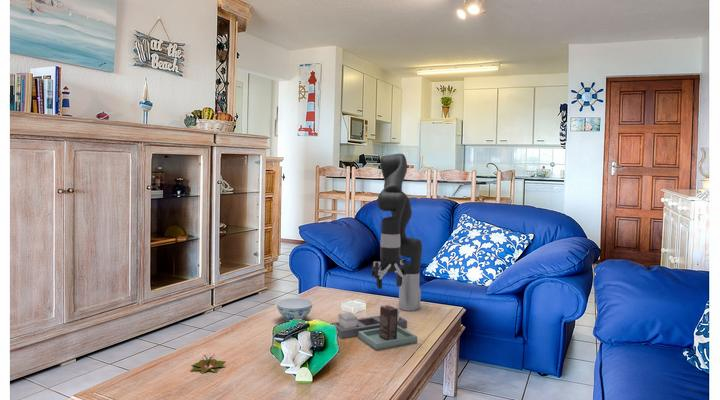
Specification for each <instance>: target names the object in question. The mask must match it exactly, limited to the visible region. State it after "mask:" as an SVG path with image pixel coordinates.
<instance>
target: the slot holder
mask: <svg viewBox="0 0 720 400" xmlns="http://www.w3.org/2000/svg"><path fill="white" fill-rule="evenodd" d="M331 324H332V325H335V326H336V327H337V331H338V336H337V337H338V338H340V339H342V340H343V339H348V338H354V337H358V332H359V331H365V330H371V329H377V328H380V315H376V316H369V317H362V318H357V327H355V328H348V329H342V328H341V327H340V326H339V321H334V322H330V325H331ZM397 325H398V326H400V327H401V328H403V329H405V328H406V329H407V328H408V320H407V319H405V318H403V317H401V316H399V321H397Z"/></svg>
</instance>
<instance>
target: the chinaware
mask: <svg viewBox="0 0 720 400" xmlns="http://www.w3.org/2000/svg"><path fill="white" fill-rule="evenodd" d="M276 305H277V306H276V307H277V310H278V313H279V314H280V316H282V318H283V319H285V320H286V322H287V321H290V320H293V319H303V320H304V319H305V318H306V317H308V315H309V314H310V312H311V311H312V308H313V305H314V303H313V301H312V300H311V299H308V298H304V297H303V298H302V297H290V298H284V299H280V300H278V301H277V302H276Z"/></svg>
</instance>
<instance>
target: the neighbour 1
mask: <svg viewBox="0 0 720 400" xmlns="http://www.w3.org/2000/svg"><path fill="white" fill-rule="evenodd" d="M357 319H358V316H357V315H354V314H353V313H352V312H344V313H338V322H339V326H340V327H341V328H342V329H348V328H355V327H357Z"/></svg>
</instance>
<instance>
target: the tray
mask: <svg viewBox="0 0 720 400" xmlns="http://www.w3.org/2000/svg"><path fill="white" fill-rule="evenodd" d="M379 329H380V328H377V329H371V330H365V331H359V332H358V336H357V338H358V339H359V340H360V341H361V342H363V343H364V344H366V345H367V346H369V347H370V348H372V349H373V350H375V351H382V350H387V349H393V348H398V347H402V346H403V347H404V346H408V345H409V346H410V345H414V344H418V336H417V335H415V334H414V333H412V332H410V331H408V330H406V329H405V328H401V327H400V326H398V325H397V339H393V340H388V341H387V340H385V339H383V338H381V337H379Z"/></svg>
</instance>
